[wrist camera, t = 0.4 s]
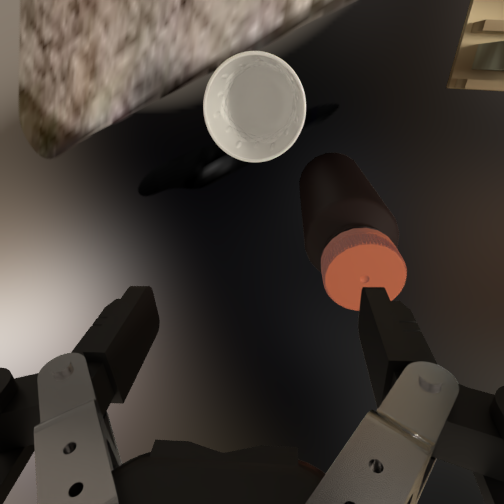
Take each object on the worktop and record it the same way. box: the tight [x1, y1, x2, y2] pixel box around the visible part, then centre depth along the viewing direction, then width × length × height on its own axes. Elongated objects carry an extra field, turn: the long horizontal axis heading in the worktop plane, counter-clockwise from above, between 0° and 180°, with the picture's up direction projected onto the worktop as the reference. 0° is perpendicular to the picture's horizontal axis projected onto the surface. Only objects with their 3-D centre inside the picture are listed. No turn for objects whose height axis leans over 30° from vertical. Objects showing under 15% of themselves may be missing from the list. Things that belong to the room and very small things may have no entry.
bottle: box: [299, 153, 407, 310], centre depth 29 cm, size 7×7×20 cm
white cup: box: [203, 51, 306, 162], centre depth 31 cm, size 8×8×10 cm
